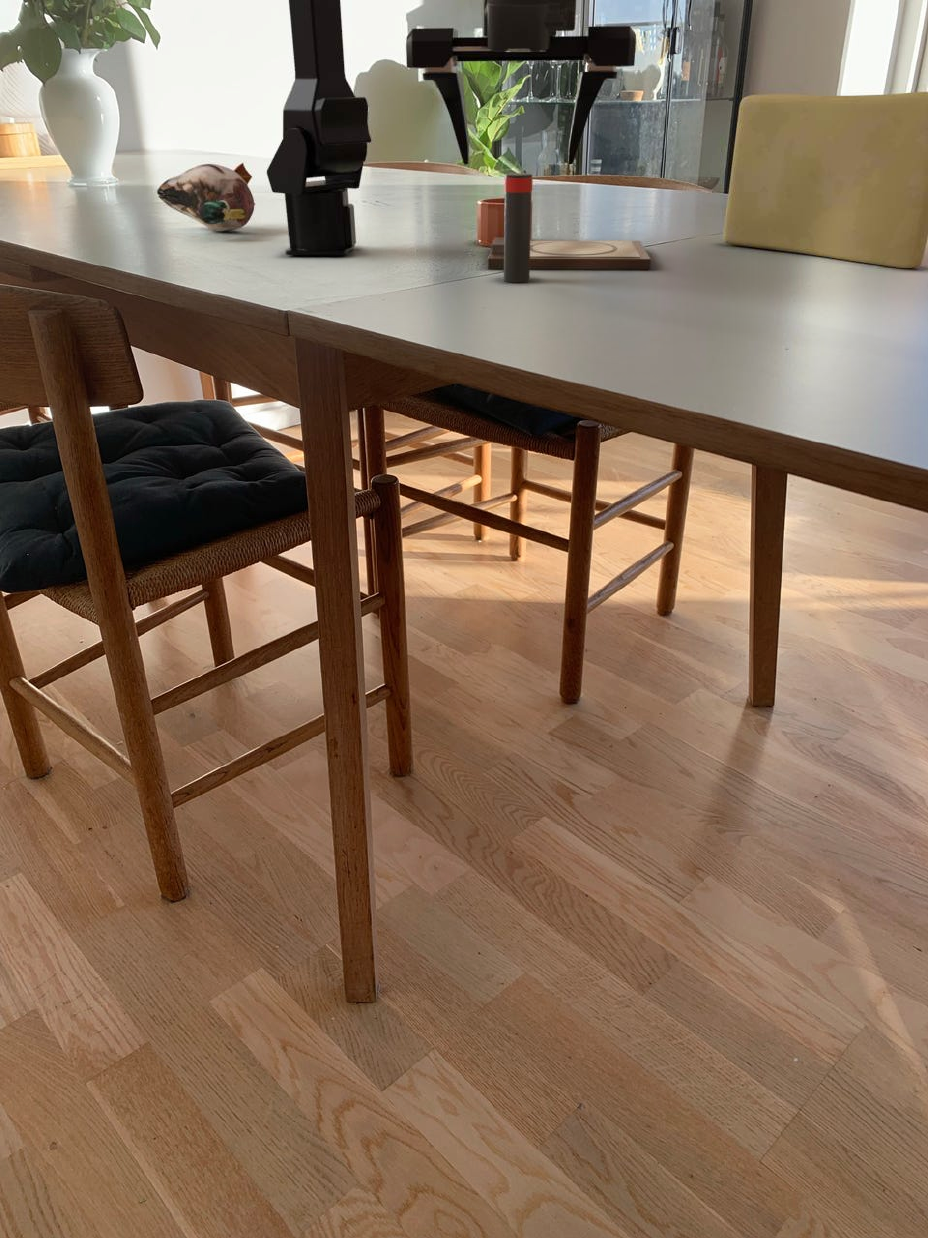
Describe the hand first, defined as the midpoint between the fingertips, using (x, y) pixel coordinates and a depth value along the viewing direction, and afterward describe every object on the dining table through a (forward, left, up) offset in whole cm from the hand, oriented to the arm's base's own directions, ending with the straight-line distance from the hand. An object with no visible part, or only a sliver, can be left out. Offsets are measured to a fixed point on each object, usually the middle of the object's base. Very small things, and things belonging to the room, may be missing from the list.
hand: (518, 163), depth 81 cm
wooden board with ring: (+5, +12, -10) cm, 16 cm away
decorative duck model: (-40, +31, -10) cm, 52 cm away
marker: (0, 0, -10) cm, 10 cm away
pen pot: (-2, +23, -10) cm, 25 cm away
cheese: (+33, +16, -10) cm, 38 cm away
